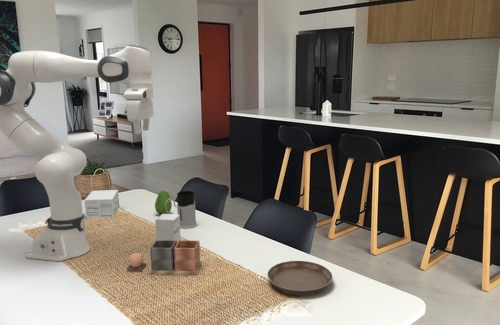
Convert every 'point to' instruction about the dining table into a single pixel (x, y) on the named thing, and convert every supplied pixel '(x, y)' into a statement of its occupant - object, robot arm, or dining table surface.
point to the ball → (136, 260)
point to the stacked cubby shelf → (175, 257)
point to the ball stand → (136, 268)
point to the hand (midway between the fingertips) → (142, 132)
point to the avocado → (163, 203)
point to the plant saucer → (299, 277)
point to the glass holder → (185, 209)
